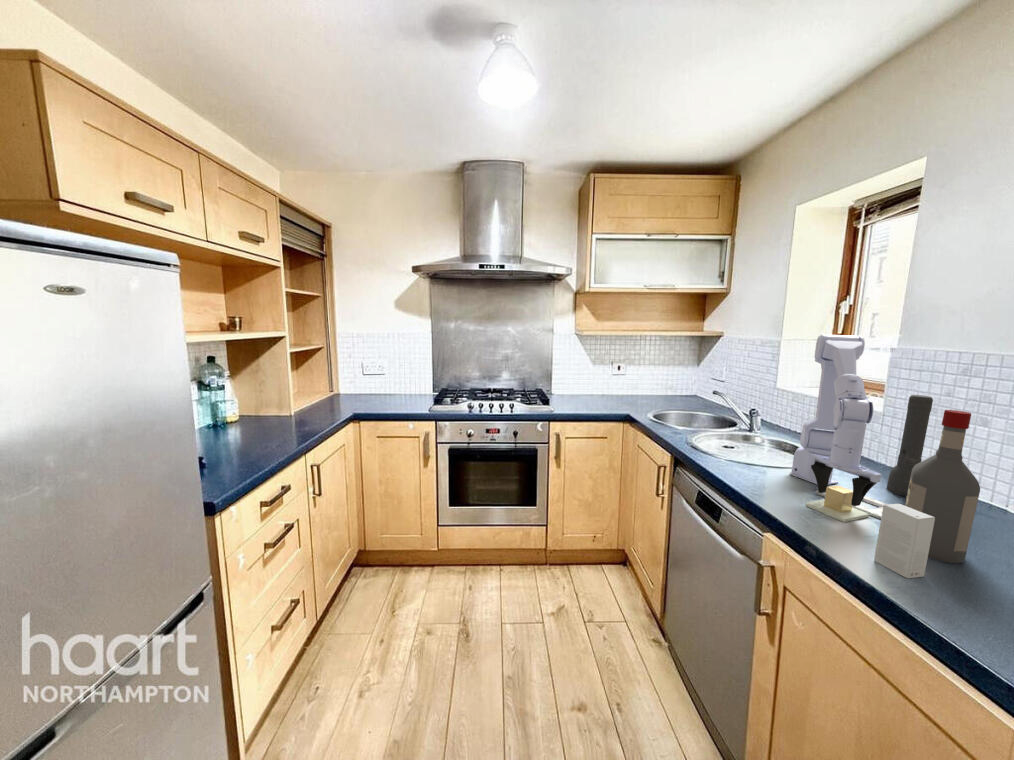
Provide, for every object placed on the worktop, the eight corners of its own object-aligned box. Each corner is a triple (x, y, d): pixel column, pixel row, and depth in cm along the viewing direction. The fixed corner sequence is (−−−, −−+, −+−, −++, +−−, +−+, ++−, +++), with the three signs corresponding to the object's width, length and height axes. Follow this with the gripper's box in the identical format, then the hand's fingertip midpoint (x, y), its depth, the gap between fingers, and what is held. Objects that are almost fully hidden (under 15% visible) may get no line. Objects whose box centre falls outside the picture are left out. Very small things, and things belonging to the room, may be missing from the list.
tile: (805, 505, 105) (806, 502, 105) (829, 501, 108) (829, 498, 108) (844, 522, 96) (844, 519, 96) (868, 517, 99) (868, 514, 99)
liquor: (957, 549, 86) (987, 412, 81) (965, 568, 79) (998, 419, 74) (898, 533, 92) (923, 404, 87) (900, 550, 85) (927, 411, 80)
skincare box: (925, 577, 76) (937, 517, 74) (907, 579, 75) (919, 519, 73) (888, 558, 82) (899, 502, 80) (872, 560, 81) (882, 504, 79)
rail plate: (815, 493, 112) (815, 490, 112) (838, 489, 116) (839, 486, 116) (894, 525, 96) (895, 521, 96) (919, 519, 99) (920, 516, 99)
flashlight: (882, 485, 120) (892, 494, 114) (899, 392, 116) (910, 396, 109) (914, 490, 117) (925, 499, 111) (932, 395, 113) (945, 399, 106)
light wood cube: (823, 505, 103) (826, 487, 102) (834, 503, 105) (837, 485, 104) (841, 512, 99) (844, 493, 99) (851, 510, 101) (854, 491, 100)
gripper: (805, 439, 105) (798, 488, 107) (871, 457, 91) (861, 513, 93) (823, 437, 107) (816, 485, 109) (890, 455, 94) (880, 509, 96)
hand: (838, 498), depth 101 cm, fingers open, 7 cm apart
